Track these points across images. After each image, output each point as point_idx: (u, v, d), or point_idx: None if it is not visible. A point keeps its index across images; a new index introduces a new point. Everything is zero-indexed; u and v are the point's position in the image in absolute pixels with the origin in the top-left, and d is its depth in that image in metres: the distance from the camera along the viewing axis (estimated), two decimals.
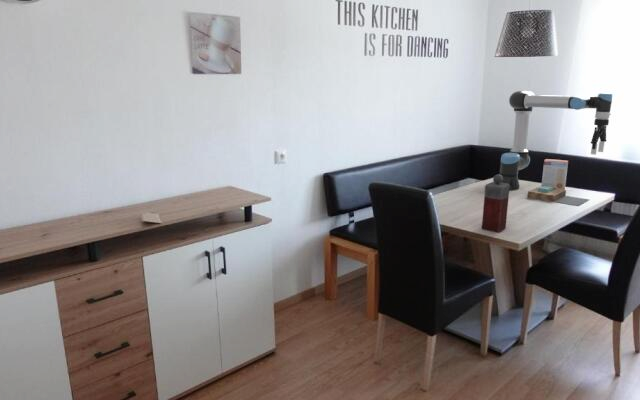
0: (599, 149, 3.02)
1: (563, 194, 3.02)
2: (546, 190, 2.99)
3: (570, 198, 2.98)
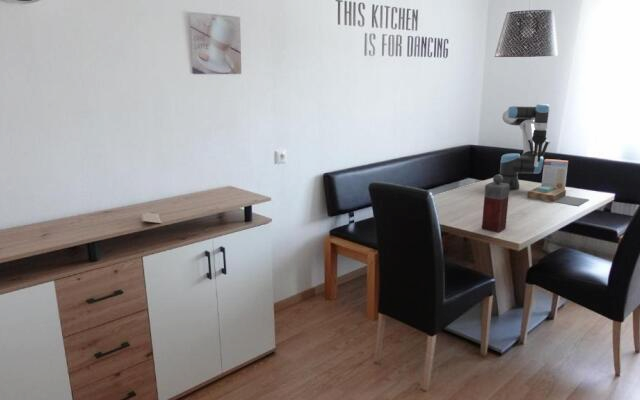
0: None
1: (563, 194, 3.02)
2: (546, 190, 2.99)
3: (570, 198, 2.98)
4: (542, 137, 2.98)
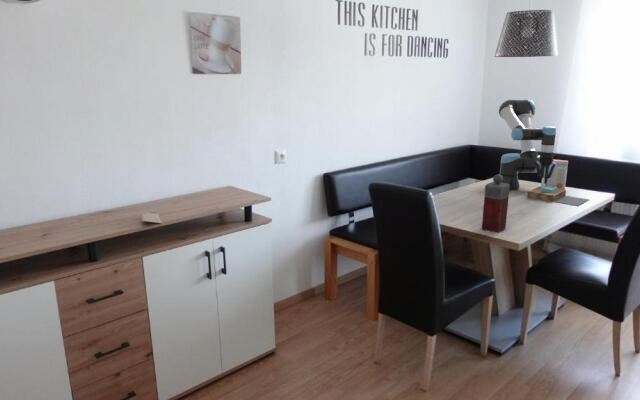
0: None
1: (563, 194, 3.02)
2: (550, 191, 2.97)
3: (570, 198, 2.98)
4: (549, 159, 2.97)
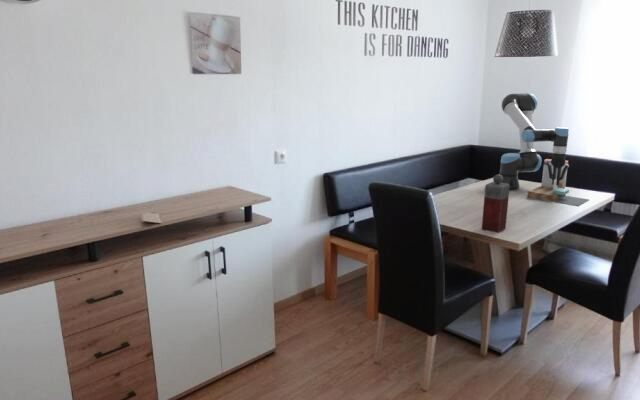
0: None
1: None
2: (562, 193, 2.92)
3: (570, 198, 2.98)
4: (561, 161, 2.92)
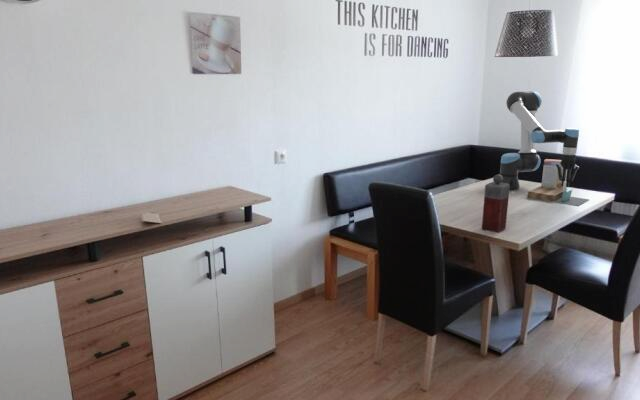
0: None
1: None
2: (563, 199, 2.92)
3: (570, 198, 2.98)
4: (571, 162, 2.88)
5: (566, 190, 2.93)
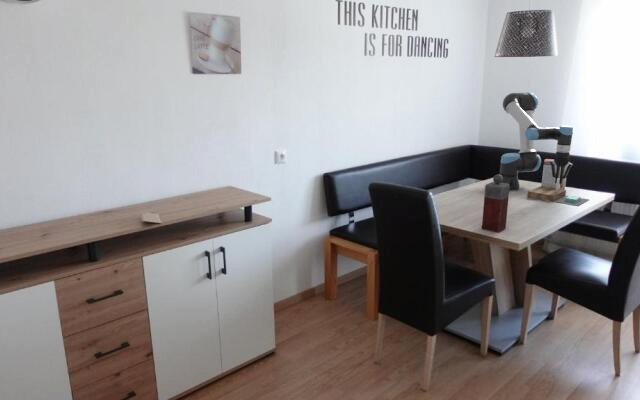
0: None
1: (563, 194, 3.02)
2: (566, 200, 2.91)
3: None
4: (565, 159, 2.91)
5: (577, 199, 2.90)
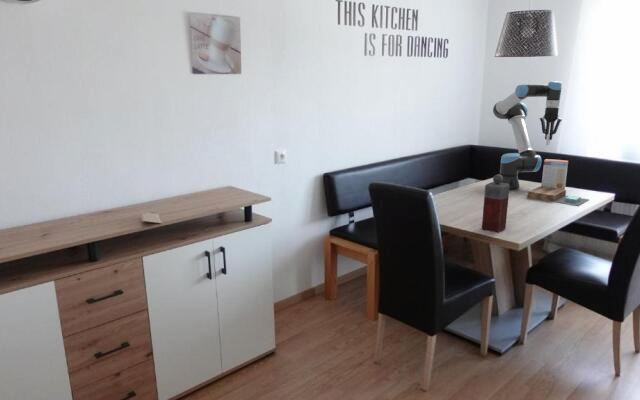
0: None
1: (563, 194, 3.02)
2: (566, 200, 2.91)
3: None
4: (554, 115, 2.96)
5: (577, 199, 2.90)
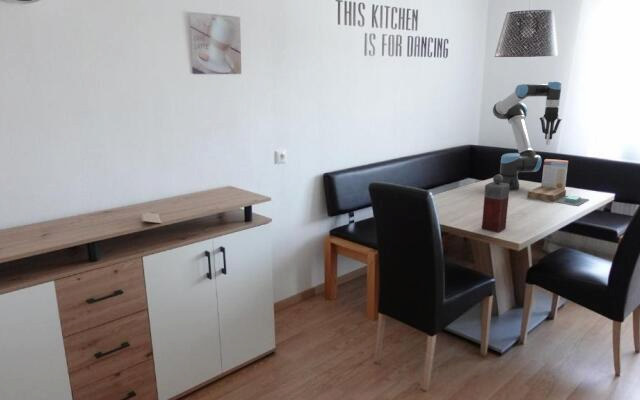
0: None
1: (563, 194, 3.02)
2: (566, 200, 2.91)
3: None
4: (554, 114, 2.96)
5: (577, 199, 2.90)
